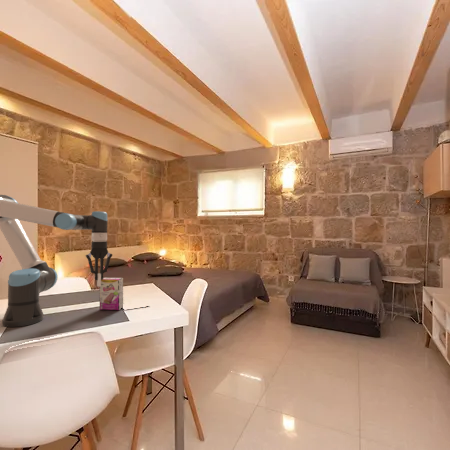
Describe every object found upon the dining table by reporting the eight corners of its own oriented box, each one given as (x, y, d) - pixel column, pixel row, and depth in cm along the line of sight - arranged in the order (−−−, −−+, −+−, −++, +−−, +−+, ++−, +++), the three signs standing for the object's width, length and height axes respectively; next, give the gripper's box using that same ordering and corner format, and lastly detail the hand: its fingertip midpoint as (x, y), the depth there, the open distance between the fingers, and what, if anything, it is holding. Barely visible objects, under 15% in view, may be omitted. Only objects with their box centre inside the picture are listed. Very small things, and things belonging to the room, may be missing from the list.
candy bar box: (99, 310, 144) (98, 279, 144) (104, 307, 149) (103, 277, 149) (119, 310, 143) (118, 279, 143) (123, 307, 148) (123, 277, 148)
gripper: (86, 241, 136) (85, 289, 136) (114, 241, 143) (113, 286, 143) (84, 241, 142) (83, 286, 142) (111, 240, 150) (110, 283, 149)
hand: (98, 286), depth 142 cm, fingers closed
